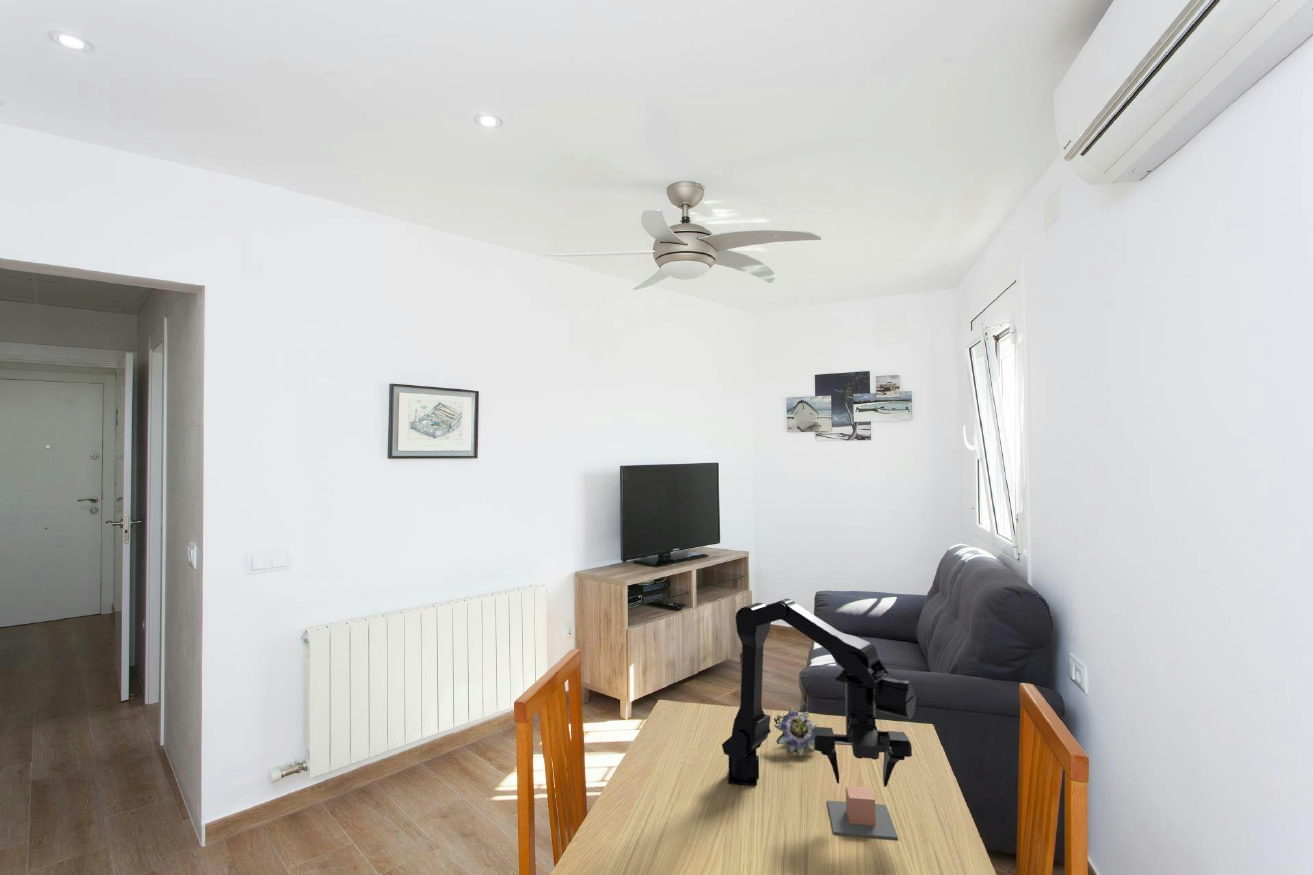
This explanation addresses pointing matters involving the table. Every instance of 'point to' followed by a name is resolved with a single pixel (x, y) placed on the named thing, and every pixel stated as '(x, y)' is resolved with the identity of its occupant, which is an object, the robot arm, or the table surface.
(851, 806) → the cube
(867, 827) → the mat
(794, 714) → the passion flower
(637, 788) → the table surface
